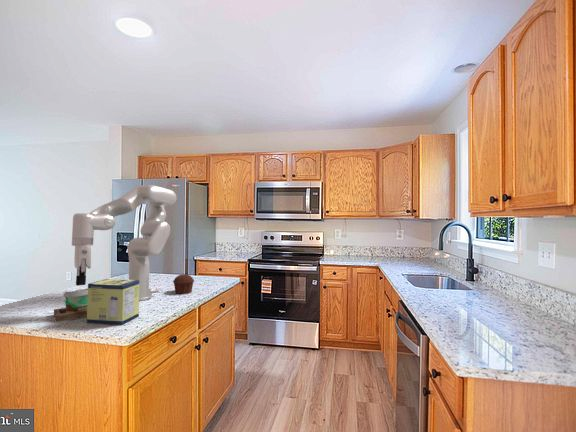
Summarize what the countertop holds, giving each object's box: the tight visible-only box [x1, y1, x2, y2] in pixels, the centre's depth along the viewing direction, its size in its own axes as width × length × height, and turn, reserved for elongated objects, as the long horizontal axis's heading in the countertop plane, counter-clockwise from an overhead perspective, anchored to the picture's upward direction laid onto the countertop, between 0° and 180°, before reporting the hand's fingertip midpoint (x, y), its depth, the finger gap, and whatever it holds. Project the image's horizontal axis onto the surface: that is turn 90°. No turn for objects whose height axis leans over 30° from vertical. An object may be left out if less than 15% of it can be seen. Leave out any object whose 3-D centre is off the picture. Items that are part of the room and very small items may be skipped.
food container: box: [63, 287, 88, 313], centre depth 121 cm, size 12×6×10 cm, turn 165°
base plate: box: [53, 307, 87, 323], centre depth 121 cm, size 17×11×2 cm, turn 133°
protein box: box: [86, 278, 140, 326], centre depth 116 cm, size 10×16×16 cm
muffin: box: [172, 273, 195, 295], centre depth 162 cm, size 12×11×10 cm
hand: (80, 284), depth 121 cm, fingers closed
